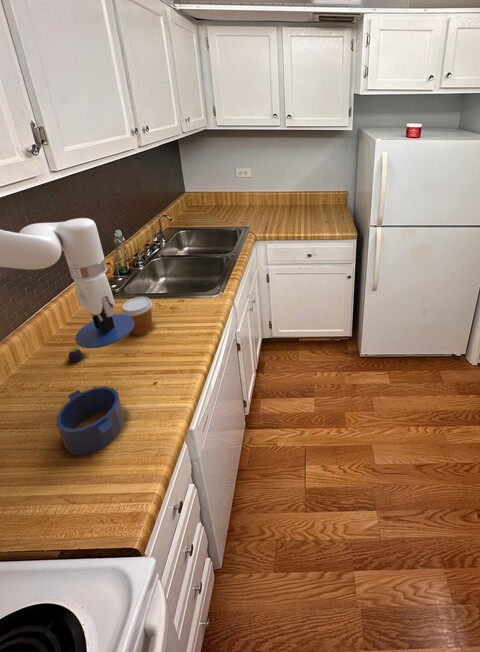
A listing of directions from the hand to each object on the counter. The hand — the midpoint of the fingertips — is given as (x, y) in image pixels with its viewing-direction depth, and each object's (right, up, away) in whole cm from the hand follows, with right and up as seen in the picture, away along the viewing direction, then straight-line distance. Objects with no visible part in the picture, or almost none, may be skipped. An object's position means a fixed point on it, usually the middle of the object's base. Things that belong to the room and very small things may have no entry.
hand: (105, 327), depth 89 cm
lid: (0, -1, 0) cm, 1 cm away
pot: (+1, -25, -5) cm, 25 cm away
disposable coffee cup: (-6, -11, +31) cm, 33 cm away
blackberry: (-20, -16, +17) cm, 30 cm away
